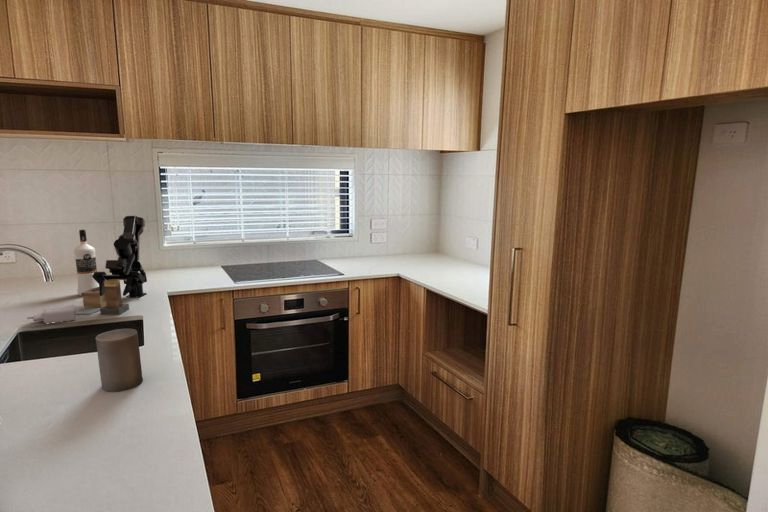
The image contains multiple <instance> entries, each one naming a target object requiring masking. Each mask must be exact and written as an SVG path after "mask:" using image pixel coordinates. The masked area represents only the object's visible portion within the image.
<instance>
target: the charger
mask: <svg viewBox="0 0 768 512" xmlns="http://www.w3.org/2000/svg"><path fill="white" fill-rule="evenodd" d="M75 312H76V311H75V305H74V304H69V305H61V306H60V305H59V306H53V307H46V308H45V309H44V310H43V312H39V313H33V315H32V316H27V317H26V320H32V321H33V322H39V321H43V324H45V323H52V322H60V323H62V322H61V321H67V322H72V321H71V320H74V321H75V320H76V315H75ZM52 324H53V323H52Z"/></svg>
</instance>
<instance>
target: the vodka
mask: <svg viewBox="0 0 768 512" xmlns="http://www.w3.org/2000/svg"><path fill="white" fill-rule="evenodd" d="M78 233H79V234H78V235H79V241H80V244H79V245H78V246H77V247H75V248H74V249H73V254H74V259H75V268H76V278H77V291H76V292H77V295H78V296H79V297H82V296H81V293H82V292H85V291H88V290H90V289H93V288H96V287H99V284H98V283H97V282H96V280H95V279H94V278H93V277H92V276H93V273H94V272H98V268H97V259H96V249H95V247H94V246H92V245H90V244H88V241H87V233H86V229H79V230H78Z"/></svg>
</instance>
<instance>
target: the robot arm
mask: <svg viewBox="0 0 768 512" xmlns="http://www.w3.org/2000/svg"><path fill="white" fill-rule="evenodd" d="M122 223H123V231H122V234H121V235H118V238H117V239H116V240H115V241H114V242H113V247H114V250H115V252H116V254H117V256H118V257H117V260H115V259H106V262H105V269H106V270H109V271H108V272H109V273H110V274H107V273H106V272H105V271H97V272H94V273H93V276H92V277H93V278H94V279H95V280H96V282H97V283H98V284H99V291H100V296H102V295H103V294H104V292H105V286H104V281H107V280H110V279H120V281H123V284H124V285H125V286H124V289H123V293H122V296H123V297H125V298H141V297H144V296H146V295H148V294H147V292H144V288H143V284H144V283H147V282H148V279H147V274H146V272H145V269H144V268H143V265H142V264H141V262H140V236H141V235H142V234H143V233H144V227H145V226H146V223H145V218H143V217H140V216H137V215H126V216H124V218H122Z"/></svg>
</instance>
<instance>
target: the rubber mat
mask: <svg viewBox="0 0 768 512" xmlns="http://www.w3.org/2000/svg"><path fill="white" fill-rule="evenodd" d="M98 312H100V308H84V307H83V308H81V309H79V310H76V311H75V314H92V315H93V313H94V314H95V313H98Z"/></svg>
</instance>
